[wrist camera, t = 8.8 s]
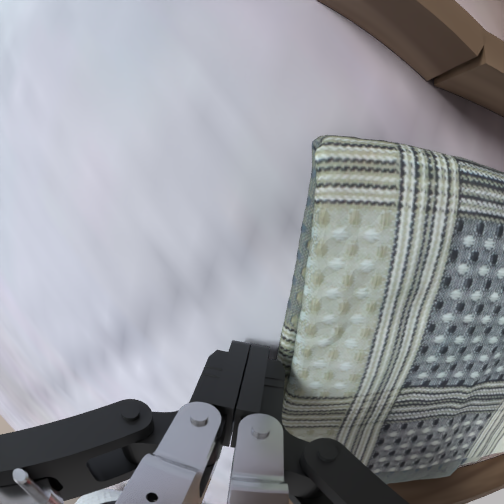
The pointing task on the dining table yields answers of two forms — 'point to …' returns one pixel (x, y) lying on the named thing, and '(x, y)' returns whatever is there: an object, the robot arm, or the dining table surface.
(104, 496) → the cereal bowl
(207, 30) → the dining table surface
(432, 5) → the towel holder
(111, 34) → the dining table surface
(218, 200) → the dining table surface
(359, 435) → the dish towel
